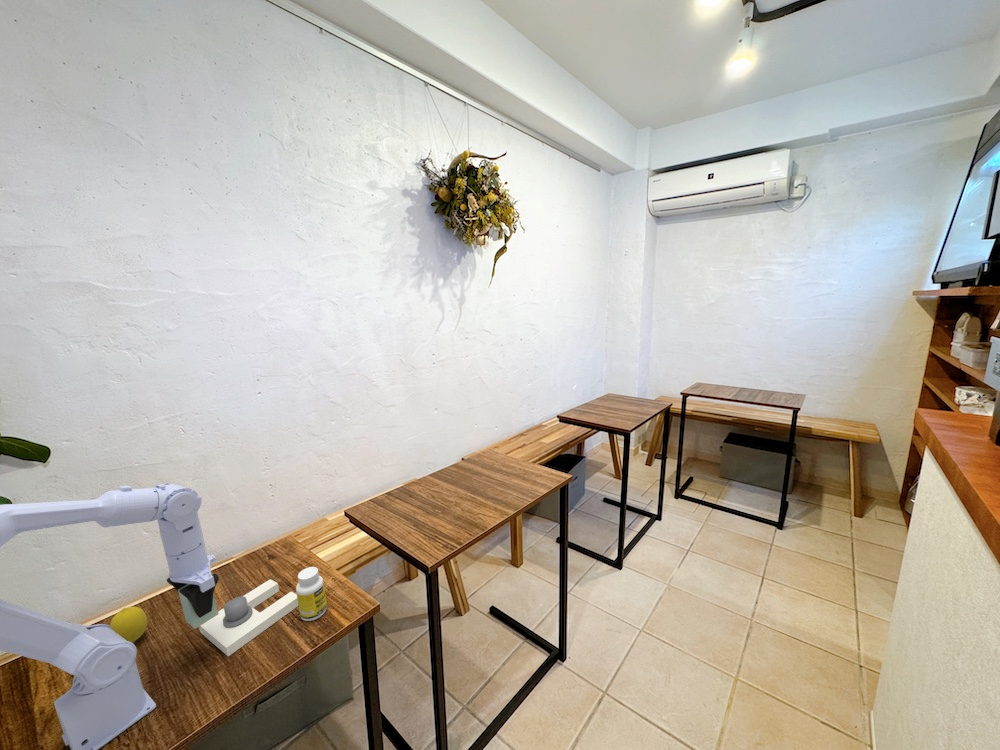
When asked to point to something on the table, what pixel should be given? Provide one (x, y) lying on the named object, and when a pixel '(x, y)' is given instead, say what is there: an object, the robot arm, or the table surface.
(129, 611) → the lemon
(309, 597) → the supplement bottle
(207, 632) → the notched board
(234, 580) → the table surface
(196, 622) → the block
